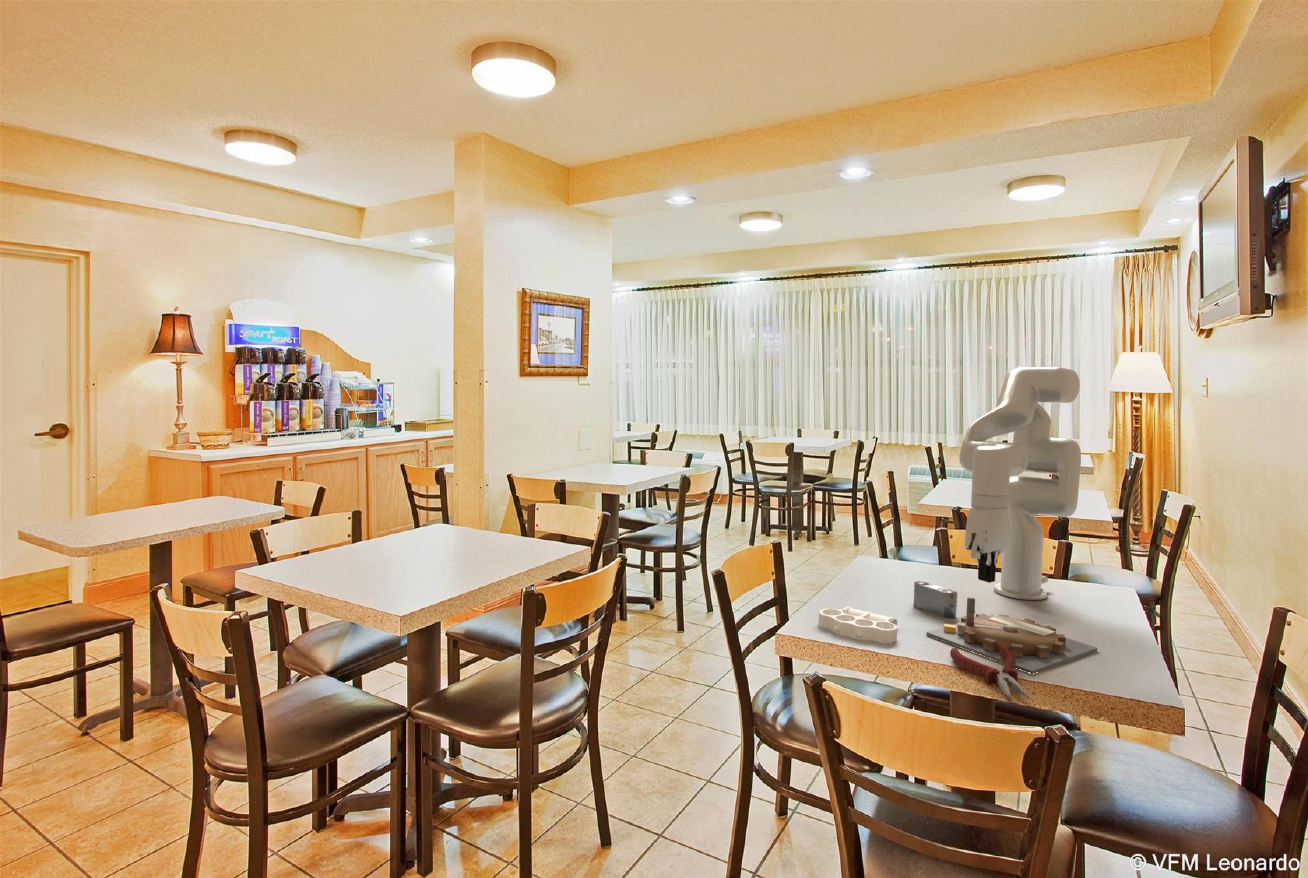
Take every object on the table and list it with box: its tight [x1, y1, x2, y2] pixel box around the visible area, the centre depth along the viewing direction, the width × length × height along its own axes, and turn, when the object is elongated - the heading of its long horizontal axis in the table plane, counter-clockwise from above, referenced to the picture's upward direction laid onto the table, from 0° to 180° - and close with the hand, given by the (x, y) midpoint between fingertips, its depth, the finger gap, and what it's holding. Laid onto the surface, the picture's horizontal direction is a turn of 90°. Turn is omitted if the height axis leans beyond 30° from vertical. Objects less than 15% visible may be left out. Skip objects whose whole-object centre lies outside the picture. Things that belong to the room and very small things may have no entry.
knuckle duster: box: [818, 606, 898, 644], centre depth 157 cm, size 3×18×15 cm
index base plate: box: [925, 613, 1098, 674], centre depth 150 cm, size 24×24×2 cm
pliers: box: [949, 646, 1030, 700], centre depth 131 cm, size 12×20×3 cm, turn 175°
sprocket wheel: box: [957, 596, 1067, 658], centre depth 150 cm, size 21×21×8 cm
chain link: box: [912, 580, 958, 619], centre depth 171 cm, size 3×11×6 cm, turn 31°
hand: (986, 580), depth 157 cm, fingers closed
